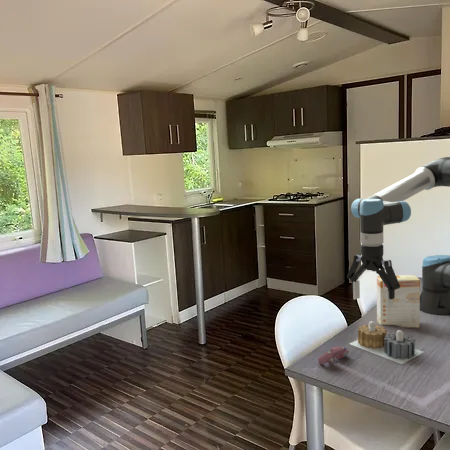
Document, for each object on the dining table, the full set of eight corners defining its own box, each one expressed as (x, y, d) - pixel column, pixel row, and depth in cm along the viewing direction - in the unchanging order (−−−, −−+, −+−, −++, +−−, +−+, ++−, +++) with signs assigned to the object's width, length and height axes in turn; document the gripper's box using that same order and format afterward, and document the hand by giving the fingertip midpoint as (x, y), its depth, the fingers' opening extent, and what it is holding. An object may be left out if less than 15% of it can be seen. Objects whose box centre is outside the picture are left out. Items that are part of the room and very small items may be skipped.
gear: (395, 344, 161) (395, 330, 160) (420, 353, 153) (421, 339, 152) (378, 352, 155) (378, 338, 154) (404, 362, 148) (404, 347, 147)
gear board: (371, 337, 171) (371, 313, 169) (424, 356, 154) (424, 329, 153) (348, 347, 164) (348, 322, 162) (401, 368, 147) (402, 340, 145)
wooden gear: (369, 334, 170) (369, 322, 169) (392, 343, 162) (392, 329, 161) (352, 342, 164) (352, 329, 163) (375, 351, 156) (375, 337, 156)
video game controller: (324, 371, 151) (330, 357, 147) (315, 361, 154) (321, 346, 150) (346, 363, 155) (353, 349, 152) (338, 353, 159) (344, 339, 155)
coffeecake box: (414, 321, 184) (415, 274, 181) (420, 328, 177) (420, 279, 174) (376, 321, 186) (376, 275, 183) (380, 328, 179) (380, 280, 176)
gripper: (336, 241, 165) (337, 297, 168) (397, 251, 145) (397, 314, 148) (349, 237, 169) (350, 292, 173) (411, 247, 149) (410, 308, 153)
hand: (372, 303), depth 161 cm, fingers open, 13 cm apart
